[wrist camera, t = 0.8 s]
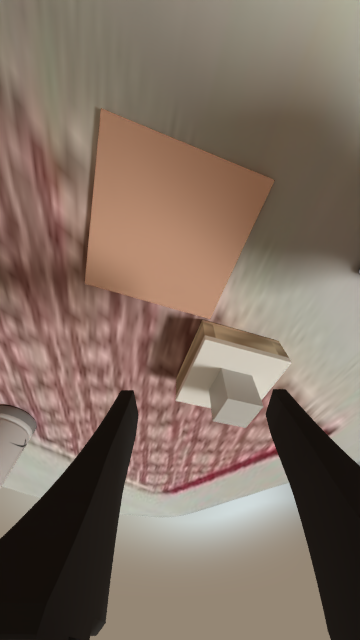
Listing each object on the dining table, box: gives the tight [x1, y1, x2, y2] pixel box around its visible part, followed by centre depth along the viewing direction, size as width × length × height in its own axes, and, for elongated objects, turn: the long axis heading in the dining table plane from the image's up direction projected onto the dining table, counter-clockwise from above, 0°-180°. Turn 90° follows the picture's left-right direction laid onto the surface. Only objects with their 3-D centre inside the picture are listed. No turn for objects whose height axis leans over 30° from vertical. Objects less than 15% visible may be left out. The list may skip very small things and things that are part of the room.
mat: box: [85, 108, 275, 319], centre depth 16 cm, size 11×11×1 cm
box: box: [176, 320, 289, 395], centre depth 22 cm, size 8×8×2 cm
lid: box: [176, 335, 292, 428], centre depth 19 cm, size 8×8×5 cm
